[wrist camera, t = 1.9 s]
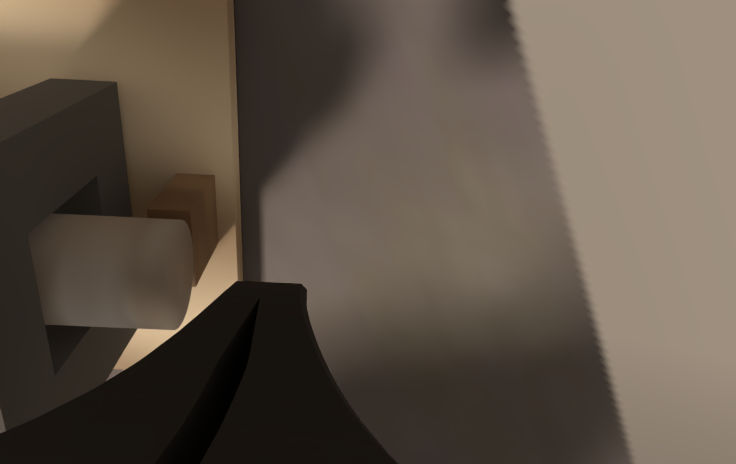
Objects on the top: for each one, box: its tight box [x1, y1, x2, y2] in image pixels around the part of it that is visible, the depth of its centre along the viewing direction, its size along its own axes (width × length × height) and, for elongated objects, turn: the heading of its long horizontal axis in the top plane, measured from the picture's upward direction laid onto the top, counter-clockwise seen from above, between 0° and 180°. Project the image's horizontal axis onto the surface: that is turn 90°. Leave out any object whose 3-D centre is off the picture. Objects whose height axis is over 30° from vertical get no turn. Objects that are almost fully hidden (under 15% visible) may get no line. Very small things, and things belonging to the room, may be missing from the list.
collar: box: [0, 78, 137, 433], centre depth 13 cm, size 7×2×7 cm, turn 177°
